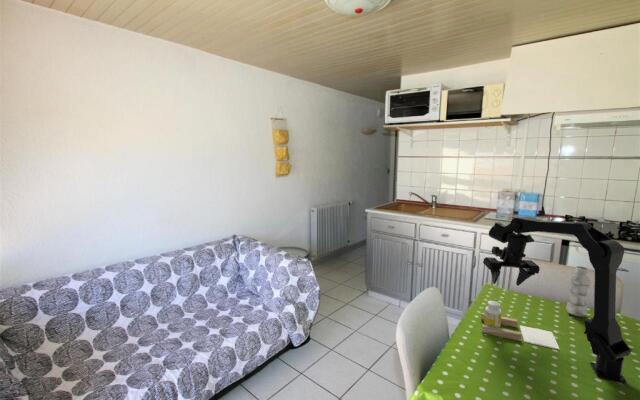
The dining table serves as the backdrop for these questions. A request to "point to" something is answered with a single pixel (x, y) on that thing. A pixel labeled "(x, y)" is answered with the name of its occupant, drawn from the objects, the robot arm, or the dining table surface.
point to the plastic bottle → (578, 292)
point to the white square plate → (538, 337)
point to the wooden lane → (501, 331)
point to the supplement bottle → (493, 314)
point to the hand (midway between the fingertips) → (505, 284)
